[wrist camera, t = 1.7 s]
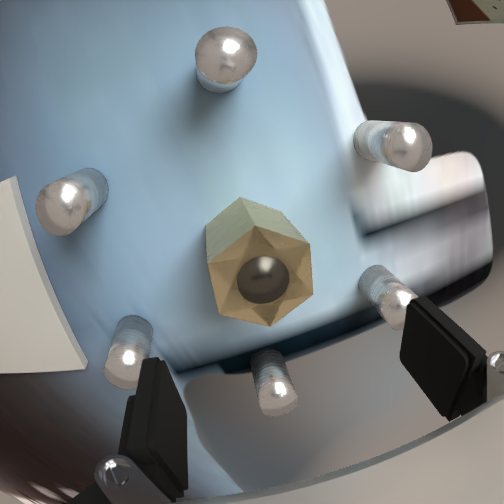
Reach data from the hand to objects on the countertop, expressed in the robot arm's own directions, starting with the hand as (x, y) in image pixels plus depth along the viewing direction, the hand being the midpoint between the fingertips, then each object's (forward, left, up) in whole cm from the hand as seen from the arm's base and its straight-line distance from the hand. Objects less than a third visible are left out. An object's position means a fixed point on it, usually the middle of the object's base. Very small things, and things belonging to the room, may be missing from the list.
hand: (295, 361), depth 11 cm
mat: (-1, -22, -11) cm, 25 cm away
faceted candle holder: (-1, 0, -11) cm, 11 cm away
